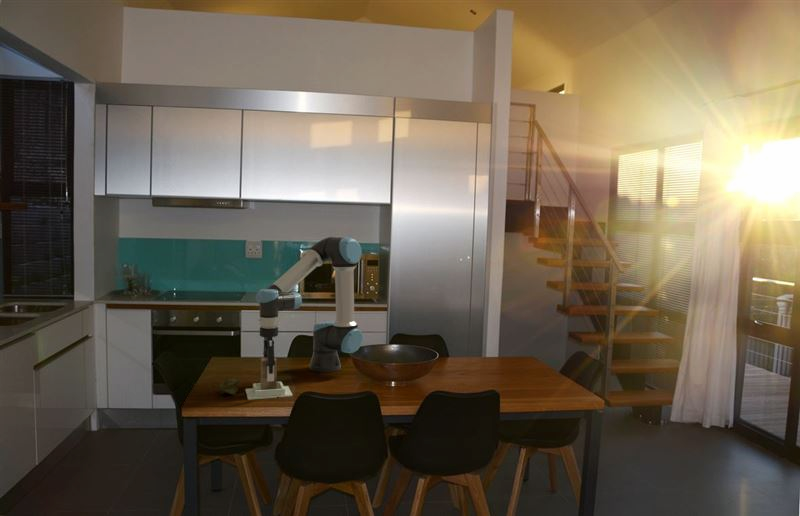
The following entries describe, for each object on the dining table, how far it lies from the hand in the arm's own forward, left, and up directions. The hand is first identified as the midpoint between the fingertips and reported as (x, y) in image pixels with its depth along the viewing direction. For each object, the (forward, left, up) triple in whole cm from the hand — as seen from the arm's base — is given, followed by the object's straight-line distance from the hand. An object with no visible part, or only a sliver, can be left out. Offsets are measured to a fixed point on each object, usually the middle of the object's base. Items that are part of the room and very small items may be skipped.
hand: (268, 376), depth 258 cm
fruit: (+16, -4, -7) cm, 18 cm away
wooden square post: (0, 0, -6) cm, 6 cm away
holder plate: (0, 0, -7) cm, 7 cm away
